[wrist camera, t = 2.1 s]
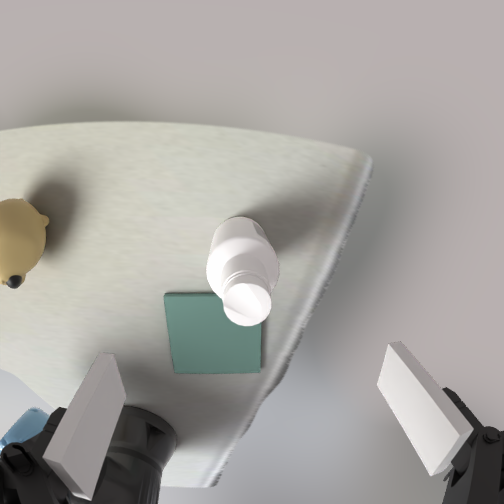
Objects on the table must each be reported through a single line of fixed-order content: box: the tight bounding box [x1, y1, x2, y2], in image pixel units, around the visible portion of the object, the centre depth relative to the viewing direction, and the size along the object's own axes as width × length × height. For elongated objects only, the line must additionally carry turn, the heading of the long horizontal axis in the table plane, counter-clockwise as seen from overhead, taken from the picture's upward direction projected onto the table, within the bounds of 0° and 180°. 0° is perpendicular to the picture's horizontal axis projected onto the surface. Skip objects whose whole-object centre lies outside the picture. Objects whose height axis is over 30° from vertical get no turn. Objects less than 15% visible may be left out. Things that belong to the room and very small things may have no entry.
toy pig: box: [0, 199, 49, 289], centre depth 30 cm, size 10×12×11 cm
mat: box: [164, 293, 261, 374], centre depth 41 cm, size 13×13×1 cm
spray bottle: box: [206, 217, 279, 326], centre depth 29 cm, size 7×7×18 cm
